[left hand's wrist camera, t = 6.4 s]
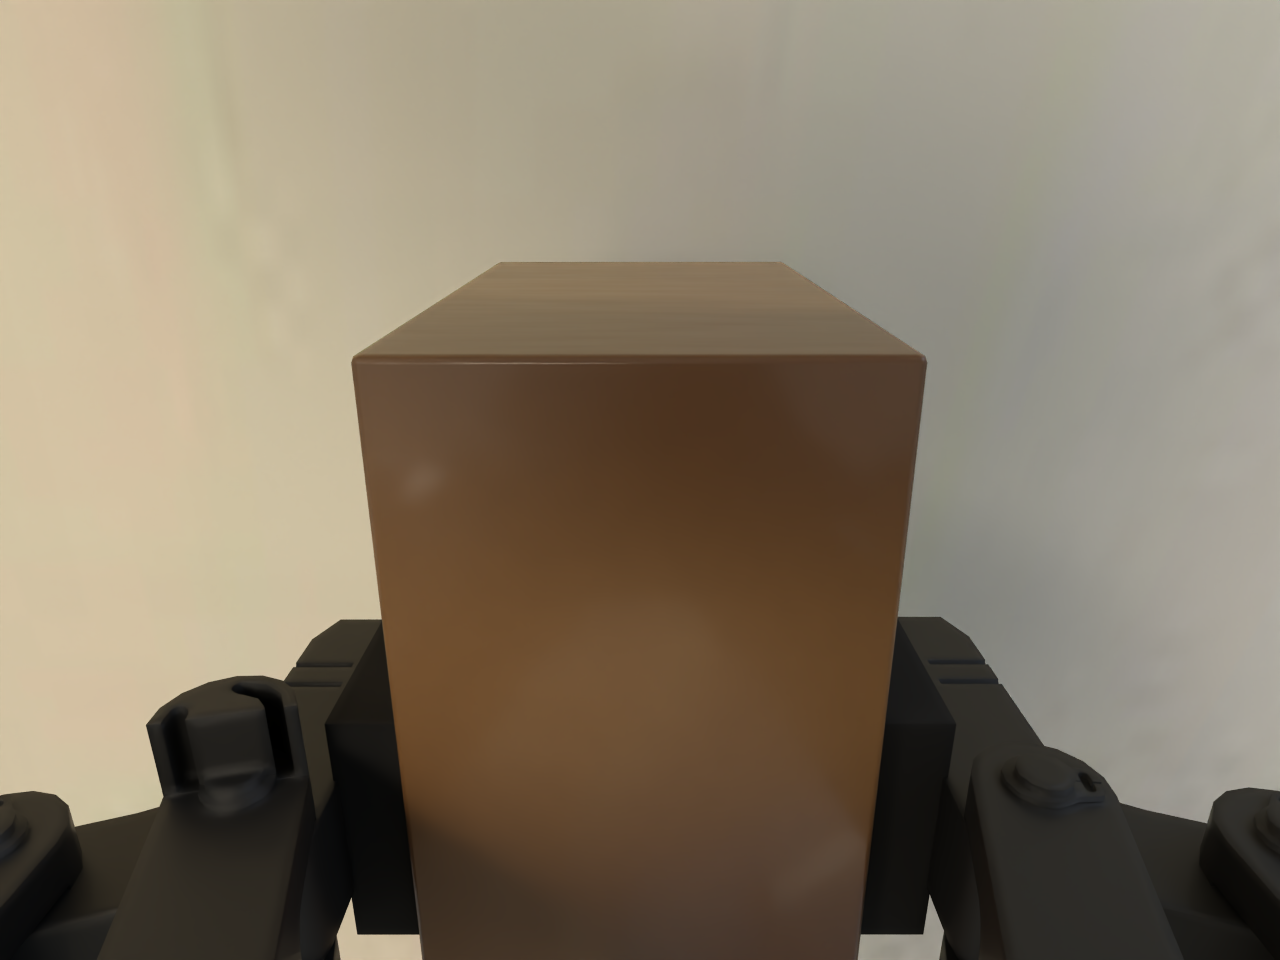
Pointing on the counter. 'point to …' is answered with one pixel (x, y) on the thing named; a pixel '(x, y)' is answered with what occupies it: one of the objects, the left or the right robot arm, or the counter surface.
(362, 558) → the counter surface
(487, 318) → the post
